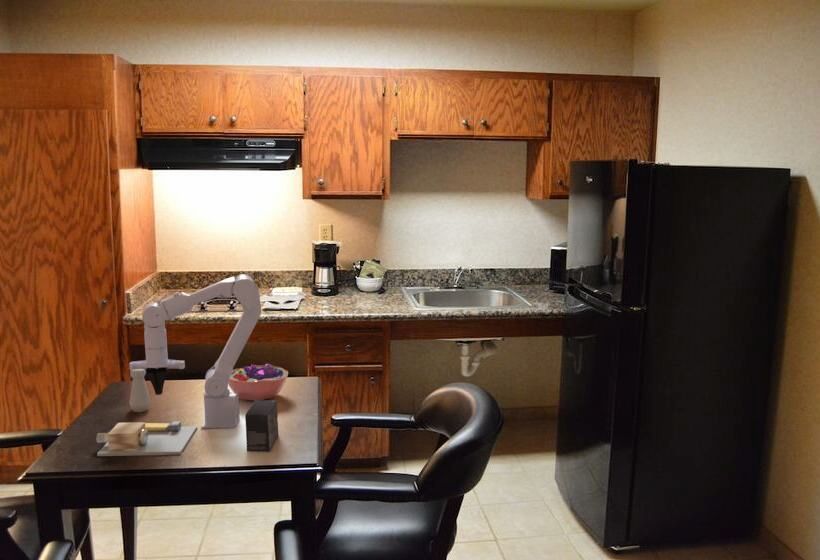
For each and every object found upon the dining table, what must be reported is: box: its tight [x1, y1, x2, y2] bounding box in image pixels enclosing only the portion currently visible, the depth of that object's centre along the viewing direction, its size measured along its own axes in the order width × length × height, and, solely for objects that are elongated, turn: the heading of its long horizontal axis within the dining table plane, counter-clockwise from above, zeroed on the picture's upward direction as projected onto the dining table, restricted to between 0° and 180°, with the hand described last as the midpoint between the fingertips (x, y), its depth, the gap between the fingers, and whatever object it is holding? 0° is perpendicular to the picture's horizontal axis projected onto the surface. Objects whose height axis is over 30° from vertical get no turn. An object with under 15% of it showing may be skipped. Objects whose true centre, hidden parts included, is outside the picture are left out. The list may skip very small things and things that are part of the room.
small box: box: [244, 399, 280, 453], centre depth 179 cm, size 11×6×10 cm, turn 178°
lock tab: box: [145, 422, 172, 431], centre depth 186 cm, size 8×3×1 cm, turn 94°
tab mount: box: [170, 420, 182, 432], centre depth 186 cm, size 2×3×2 cm, turn 4°
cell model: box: [228, 363, 289, 402], centre depth 214 cm, size 17×20×11 cm
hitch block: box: [107, 421, 146, 451], centre depth 176 cm, size 7×8×5 cm
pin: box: [95, 429, 148, 445], centre depth 176 cm, size 12×4×4 cm, turn 94°
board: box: [96, 425, 198, 457], centre depth 180 cm, size 21×17×1 cm
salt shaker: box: [129, 369, 151, 413], centre depth 203 cm, size 6×6×13 cm
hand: (159, 393), depth 188 cm, fingers closed
